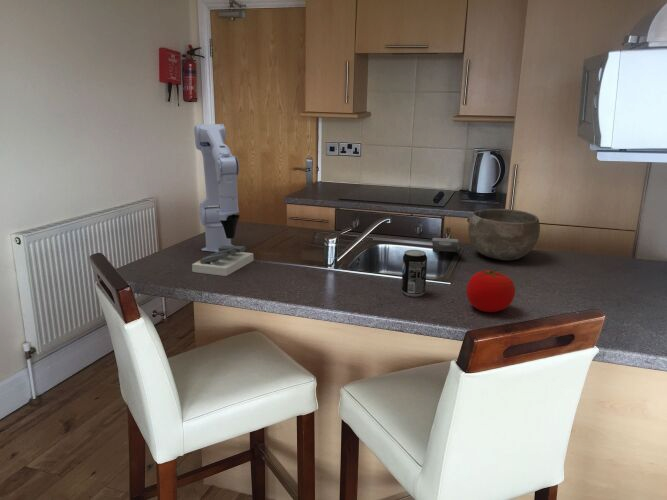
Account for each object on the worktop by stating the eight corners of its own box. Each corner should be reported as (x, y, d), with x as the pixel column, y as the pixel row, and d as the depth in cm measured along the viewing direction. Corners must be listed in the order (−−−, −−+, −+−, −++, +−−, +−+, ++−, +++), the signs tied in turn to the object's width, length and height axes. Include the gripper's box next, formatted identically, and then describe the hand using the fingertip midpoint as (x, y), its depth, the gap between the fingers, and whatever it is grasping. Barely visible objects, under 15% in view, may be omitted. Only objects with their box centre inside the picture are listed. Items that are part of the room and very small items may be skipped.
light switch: (456, 246, 198) (458, 236, 184) (456, 262, 196) (457, 253, 182) (432, 245, 199) (432, 235, 185) (431, 261, 198) (431, 252, 184)
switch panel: (222, 256, 189) (221, 247, 188) (253, 260, 185) (253, 251, 184) (192, 271, 172) (191, 261, 171) (226, 276, 168) (225, 265, 168)
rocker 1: (207, 260, 176) (205, 256, 176) (227, 255, 173) (226, 252, 172) (200, 263, 172) (199, 259, 172) (221, 258, 169) (220, 255, 169)
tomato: (466, 299, 151) (469, 262, 148) (512, 304, 147) (516, 267, 144) (463, 314, 140) (466, 275, 137) (513, 320, 137) (517, 280, 134)
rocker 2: (216, 255, 181) (215, 252, 181) (236, 251, 178) (235, 247, 177) (210, 258, 177) (209, 255, 177) (230, 254, 174) (229, 250, 174)
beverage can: (407, 287, 159) (408, 248, 156) (428, 292, 156) (431, 251, 153) (397, 294, 154) (399, 253, 151) (419, 299, 151) (421, 257, 147)
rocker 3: (224, 249, 186) (223, 245, 185) (245, 249, 183) (244, 246, 183) (218, 251, 182) (218, 248, 182) (240, 252, 180) (239, 249, 179)
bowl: (468, 265, 182) (472, 220, 178) (461, 246, 205) (463, 206, 201) (544, 268, 179) (549, 223, 175) (527, 248, 202) (532, 208, 198)
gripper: (223, 191, 179) (224, 232, 183) (208, 199, 165) (210, 243, 169) (244, 192, 179) (245, 233, 182) (231, 200, 165) (233, 243, 168)
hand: (230, 238), depth 175 cm, fingers closed
